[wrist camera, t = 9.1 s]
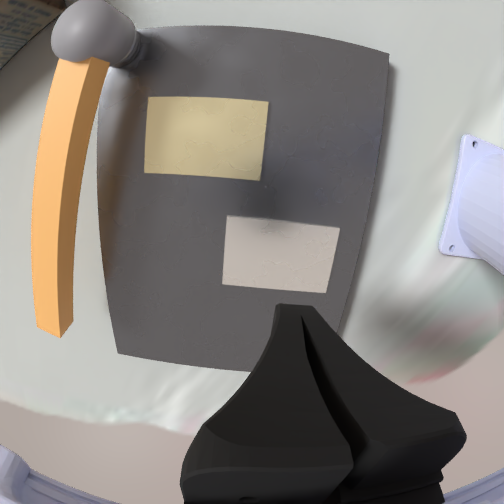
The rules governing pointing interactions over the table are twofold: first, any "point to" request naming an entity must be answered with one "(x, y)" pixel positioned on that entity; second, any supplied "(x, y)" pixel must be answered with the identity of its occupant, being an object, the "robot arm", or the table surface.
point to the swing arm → (69, 148)
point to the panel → (232, 185)
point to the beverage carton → (24, 22)
